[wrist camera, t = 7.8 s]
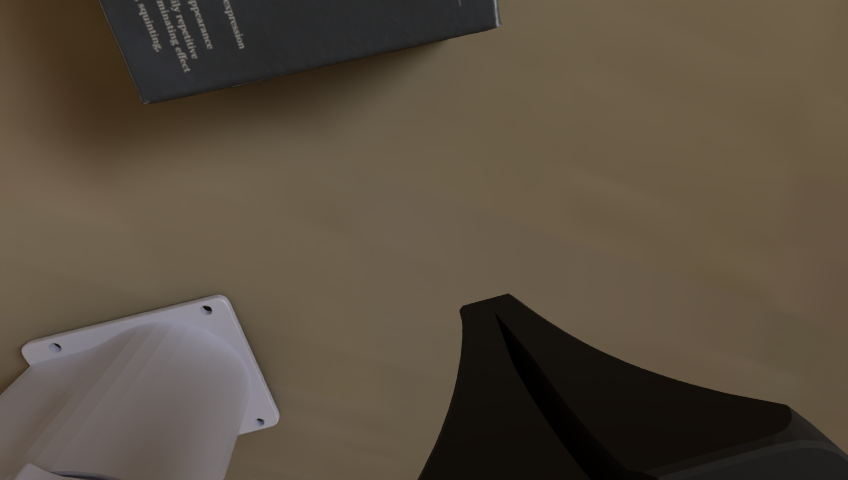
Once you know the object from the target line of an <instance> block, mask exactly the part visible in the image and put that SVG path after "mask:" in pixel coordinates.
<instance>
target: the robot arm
mask: <svg viewBox="0 0 848 480" xmlns="http://www.w3.org/2000/svg"><path fill="white" fill-rule="evenodd" d="M203 306H209V307H211V309H212V311H207V310H205V309H204V308H203ZM460 315H461V319H462V348H461V358H460V364H459V369H458V375H457V380H456V384H455V389H454V393H453V396H452V400H451V403H450V406H449V410H448V413H447V415H446V418H445V421H444V424H443V426H442V429H441V432H440V434H439V437H438V439H437V441H436V444H435V446H434V448H433V450H432V452H431V454H430V456H429V458H428V460H427V462H426V464H425V466H424V468H423V470H422V473H421V474H420V476H419V478H418V480H848V455H847V454H846V453H844V452H843V451H842V450H841V449H840V448H839V447H837V446H836V445H835V444H834V443H833V442H832V441H831V440H829V439H828V438H827V437H826V436H825V435H824V434H823V433H822V432H820V431H819V430H818V429H817V428H816V427H815V426H814V425H812V424H811V423H810V422H809V421H807V420H806V419H805V418H803V417H802V416H801V415H799V414H798V413H797V412H795V411H794V410H793V409H791V408H790V407H789V406H787V405H784V404H779V403H774V402H769V401H764V400H758V399H753V398H748V397H743V396H738V395H733V394H728V393H723V392H719V391H715V390H711V389H708V388H704V387H700V386H696V385H692V384H689V383H685V382H682V381H678V380H675V379H672V378H669V377H666V376H663V375H660V374H657V373H654V372H651V371H648V370H645V369H642V368H640V367H637V366H634V365H632V364H629V363H627V362H624V361H622V360H620V359H618V358H615V357H613V356H611V355H608V354H606V353H604V352H602V351H600V350H597V349H595V348H593V347H591V346H589V345H588V344H586V343H584V342H582V341H580V340H578V339H577V338H575V337H573V336H571V335H570V334H568V333H566V332H565V331H563V330H561V329H560V328H558V327H557V326H555V325H554V324H552V323H550V322H549V321H547V320H546V319H544V318H543V317H541V316H540V315H538V314H537V313H535V312H534V311H533V310H531V309H530V308H528V307H527V306H526V305H524V304H523V303H522V302H520V301H519V300H518V299H516V298H515V297H513V296H512V295H510V294H505V295H501V296H497V297H494V298H490V299H486V300H483V301H479V302H475V303H471V304H468V305H464V306H462V308H461V309H460ZM54 343H56V344H59V345H60V346H61V348H60V347H57V346H56V345H55V344H54ZM21 352H22V355H23V356H24V358H25V359H26V361H27V362H28V364H29V365H30V367H29V368H28V369H26V370H25V371H24V372H23V373H22V374H21V375H20V376H19V377H18V378H17V379H16V380H15V381H14V382H13V383H12V384H11V385H10V386H9V387H8V388H7V389H6V390H5V391H4V392H3V393H2V394H1V395H0V480H224V477H225V474H226V471H227V468H228V465H229V462H230V458H231V455H232V452H233V449H234V446H235V443H236V439H237V436H238V435H240V434H244V433H248V432H252V431H256V430H260V429H264V428H268V427H272V426H274V425H276V424H277V423H278V420H279V416H280V415H279V412H278V409H277V407H276V405H275V403H274V400H273V398H272V396H271V394H270V391H269V389H268V387H267V385H266V382H265V380H264V378H263V376H262V373H261V371H260V369H259V367H258V364H257V362H256V360H255V358H254V355H253V353H252V351H251V349H250V346H249V344H248V342H247V340H246V337H245V335H244V333H243V331H242V328H241V326H240V324H239V322H238V319H237V317H236V315H235V313H234V310H233V308H232V306H231V304H230V301H229V300H228V299H227V298H226V297H225V296H222V295H213V296H209V297H205V298H201V299H197V300H193V301H189V302H185V303H181V304H177V305H172V306H168V307H164V308H160V309H156V310H152V311H148V312H144V313H140V314H136V315H132V316H128V317H124V318H120V319H116V320H112V321H107V322H103V323H99V324H95V325H91V326H87V327H83V328H79V329H75V330H71V331H67V332H63V333H59V334H55V335H51V336H47V337H43V338H38V339H34V340H31V341H29V342H28V343H26V344H25V345H24V346H23V348H22V351H21ZM257 419H263V421H259V420H257Z"/></svg>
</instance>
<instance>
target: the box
mask: <svg viewBox="0 0 848 480" xmlns="http://www.w3.org/2000/svg"><path fill="white" fill-rule="evenodd" d="M98 2H99V4H100V6H101V8H102V11H103V14H104V16H105V18H106V20H107V22H108V24H109V27H110V29H111V32H112V34H113V36H114V39H115V41H116V43H117V46H118V48H119V50H120V52H121V55H122V57H123V59H124V62H125V64H126V67H127V69H128V71H129V74H130V76H131V79H132V81H133V83H134V85H135V87H136V90H137V92H138V95H139V97H140V101H141V103H143V104H150V103H157V102H163V101H168V100H173V99H178V98H183V97H187V96H192V95H197V94H201V93H205V92H210V91H214V90H219V89H224V88H228V87H232V86H237V85H241V84H246V83H252V82H256V81H260V80H265V79H269V78H274V77H278V76H283V75H287V74H291V73H296V72H300V71H305V70H309V69H314V68H319V67H324V66H329V65H333V64H337V63H342V62H346V61H351V60H355V59H360V58H365V57H369V56H374V55H378V54H383V53H387V52H392V51H397V50H401V49H405V48H410V47H415V46H419V45H423V44H428V43H433V42H437V41H441V40H446V39H450V38H455V37H460V36H464V35H469V34H473V33H478V32H483V31H487V30H490V29H493V28H497V27H500V26H501V25H502V23H501V21H500V16H499V7H498V0H98Z"/></svg>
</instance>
